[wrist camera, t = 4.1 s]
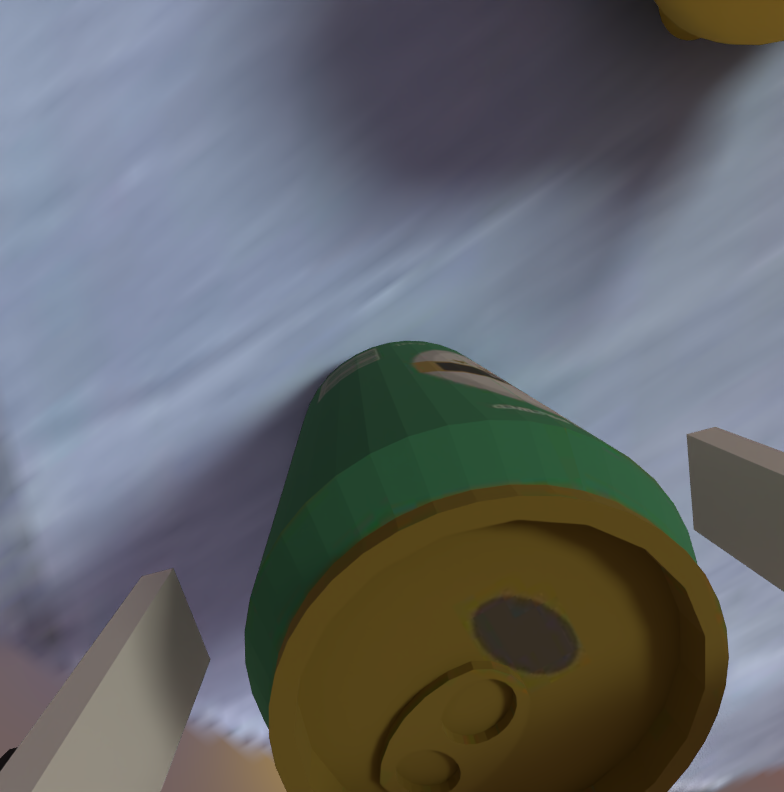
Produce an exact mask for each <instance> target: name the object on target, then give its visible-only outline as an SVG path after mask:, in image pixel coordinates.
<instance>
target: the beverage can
mask: <svg viewBox="0 0 784 792" xmlns="http://www.w3.org/2000/svg"><path fill="white" fill-rule="evenodd" d="M728 660H729V653H728V640H727V628H726V625H725V621H724V617H723V614H722V610H721V607H720V603H719V600H718V598H717V596H716V594H715V592H714V590H713V588H712V586H711V585H710V583H709V581H708V579H707V577H706V575H705V574H704V572H703V571H702V570H701V569H700V567H699V566H698V565H697V561H696V557H695V554H694V550H693V547H692V543H691V540H690V536H689V533H688V530H687V528H686V526H685V524H684V523H683V521H682V519H681V517H680V515H679V513H678V511H677V509H676V507H675V505H674V503H673V502H672V501H671V500H670V498H669V497H668V496H667V495H666V493H665V492H664V491H663V489H662V488H661V487H660V486H659V484H658V483H657V482H656V481H655V479H654V478H652V477H651V476H650V475H649V474H648V473H647V472H645V471H644V470H643V469H642V468H641V467H640V466H639V465H637V464H636V463H635V462H634V461H633V460H632V459H630V458H629V457H627V456H626V455H624V454H623V453H621V452H619V451H618V450H616V449H614V448H613V447H611V446H610V445H608V444H606V443H605V442H603V441H602V440H600V439H598V438H597V437H595V436H593V435H592V434H590V433H589V432H587V431H585V430H584V429H582V428H580V427H579V426H577V425H576V424H574V423H572V422H571V421H569V420H567V419H566V418H564V417H563V416H561V415H559V414H558V413H556V412H555V411H553V410H551V409H550V408H548V407H546V406H545V405H543V404H542V403H540V402H538V401H537V400H535V399H533V398H532V397H530V396H529V395H527V394H525V393H524V392H522V391H520V390H519V389H517V388H516V387H514V386H512V385H511V384H509V383H508V382H506V381H504V380H503V379H501V378H499V377H498V376H496V375H495V374H493V373H491V372H490V371H488V370H486V369H485V368H483V367H482V366H480V365H478V364H477V363H475V362H473V361H472V360H470V359H469V358H467V357H465V356H463V355H462V354H460V353H458V352H457V351H454V350H452V349H449V348H447V347H444V346H441V345H438V344H433V343H428V342H421V341H400V342H392V343H386V344H383V345H379V346H376V347H372V348H370V349H368V350H365V351H363V352H361V353H359V354H357V355H355V356H353V357H352V358H350V359H349V360H347V361H346V362H344V363H343V364H341V365H340V366H339V367H338V368H337V369H336V370H335V371H334V372H332V373H331V374H330V375H329V376H328V377H327V379H326V380H325V381H324V382H323V384H322V385H321V386H320V387H319V389H318V390H317V392H316V394H315V395H314V397H313V399H312V401H311V403H310V404H309V407H308V410H307V413H306V416H305V418H304V421H303V425H302V428H301V431H300V435H299V438H298V441H297V445H296V448H295V451H294V455H293V458H292V461H291V465H290V468H289V471H288V474H287V478H286V481H285V484H284V488H283V491H282V494H281V498H280V501H279V504H278V508H277V511H276V514H275V518H274V521H273V524H272V527H271V531H270V534H269V537H268V541H267V544H266V547H265V551H264V554H263V557H262V561H261V564H260V567H259V571H258V574H257V577H256V580H255V584H254V587H253V590H252V594H251V597H250V602H249V608H248V614H247V620H246V626H245V663H246V668H247V672H248V677H249V681H250V686H251V690H252V694H253V696H254V699H255V701H256V703H257V705H258V708H259V710H260V712H261V714H262V717H263V719H264V721H265V723H266V725H267V727H268V729H269V739H270V744H271V748H272V753H273V757H274V762H275V766H276V769H277V771H278V773H279V775H280V778H281V780H282V782H283V784H284V786H285V789H286V791H287V792H667V791H668V790H669V789H670V788H671V787H672V786H673V785H674V783H675V782H676V781H677V780H678V779H679V778H680V776H681V775H682V774H683V773H684V772H685V770H686V769H687V768H688V767H689V765H690V764H691V762H692V761H693V759H694V758H695V756H696V755H697V753H698V751H699V750H700V748H701V747H702V745H703V744H704V742H705V740H706V738H707V736H708V734H709V732H710V730H711V727H712V725H713V723H714V721H715V719H716V716H717V714H718V711H719V708H720V704H721V700H722V697H723V693H724V690H725V686H726V678H727V669H728Z"/></svg>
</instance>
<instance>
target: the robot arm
mask: <svg viewBox="0 0 784 792" xmlns="http://www.w3.org/2000/svg"><path fill="white" fill-rule="evenodd" d="M687 445H688V458H689V472H690V485H691V498H692V511H693V525H694V530H695V531H697V532H698V533H700V534H701V535H702V536H704V537H705V538H707V539H708V540H710V541H711V542H713V543H714V544H715V545H717V546H718V547H720V548H721V549H723V550H724V551H726V552H727V553H729V554H730V555H731V556H733V557H734V558H736V559H737V560H739V561H740V562H742V563H743V564H744V565H746V566H747V567H749V568H750V569H752V570H753V571H755V572H756V573H757V574H759V575H760V576H762V577H763V578H765V579H766V580H768V581H769V582H771V583H772V584H773V585H775V586H776V587H778V588H779V589H781V590H782V591H784V452H782V451H779V450H776V449H774V448H771V447H768V446H766V445H763V444H760V443H758V442H755V441H752V440H749V439H747V438H744V437H741V436H739V435H736V434H733V433H731V432H728V431H725V430H722V429H720V428H717V427H713V428H709V429H705V430H701V431H697V432H694V433H690V434H687ZM209 662H210V657H209V655H208V653H207V650H206V648H205V645H204V643H203V640H202V638H201V635H200V633H199V630H198V628H197V625H196V623H195V620H194V618H193V615H192V613H191V611H190V608H189V606H188V603H187V601H186V598H185V596H184V593H183V591H182V588H181V586H180V583H179V581H178V578H177V576H176V573H175V571H174V569H173V568H172V569H168V570H164V571H160V572H156V573H152V574H148V575H145V576H142V577H141V578H140V580H139V581H138V582H137V584H136V585H135V586H134V588H133V589H132V591H131V592H130V593H129V595H128V596H127V598H126V599H125V600H124V602H123V603H122V604H121V606H120V607H119V609H118V610H117V611H116V613H115V614H114V615H113V617H112V618H111V620H110V621H109V622H108V624H107V625H106V626H105V628H104V629H103V631H102V632H101V633H100V635H99V636H98V638H97V639H96V640H95V642H94V643H93V644H92V646H91V647H90V649H89V650H88V651H87V653H86V654H85V655H84V657H83V658H82V660H81V661H80V662H79V664H78V665H77V666H76V668H75V669H74V671H73V672H72V673H71V675H70V676H69V678H68V679H67V680H66V682H65V683H64V684H63V686H62V687H61V689H60V690H59V691H58V693H57V694H56V695H55V697H54V698H53V700H52V701H51V703H50V704H49V705H48V706H47V708H46V709H45V711H44V712H43V713H42V715H41V716H40V718H39V719H38V720H37V722H36V723H35V725H34V726H33V727H32V729H31V730H30V731H29V733H28V734H27V735H26V737H25V738H24V740H23V741H22V742H21V744H20V745H19V747H17V748H13V749H10V750H8V751H7V752H6V753H5V754H4V755H3V756H2V757H1V758H0V792H161V789H162V787H163V784H164V782H165V779H166V776H167V773H168V771H169V768H170V766H171V763H172V760H173V758H174V755H175V752H176V749H177V747H178V744H179V742H180V739H181V736H182V734H183V731H184V728H185V726H186V723H187V720H188V718H189V715H190V712H191V710H192V707H193V704H194V702H195V699H196V696H197V694H198V691H199V688H200V686H201V683H202V680H203V678H204V675H205V672H206V670H207V667H208V664H209Z"/></svg>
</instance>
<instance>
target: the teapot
mask: <svg viewBox="0 0 784 792" xmlns="http://www.w3.org/2000/svg"><path fill="white" fill-rule="evenodd" d="M654 1H655V2H656V4H657V5H658V7H659V13H660V17H661V20H662V22H663V24H664V26H665V28H666V29H667V30H668V31H669V32H670V33H671V34H672V35H673V36H675V37H677V38H679V39H681V40H696V39H699V38H704V39H707V40H711V41H714V42H718V43H724V44H733V45H763V44H768V43H774V42H779V41H784V0H654Z"/></svg>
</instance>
